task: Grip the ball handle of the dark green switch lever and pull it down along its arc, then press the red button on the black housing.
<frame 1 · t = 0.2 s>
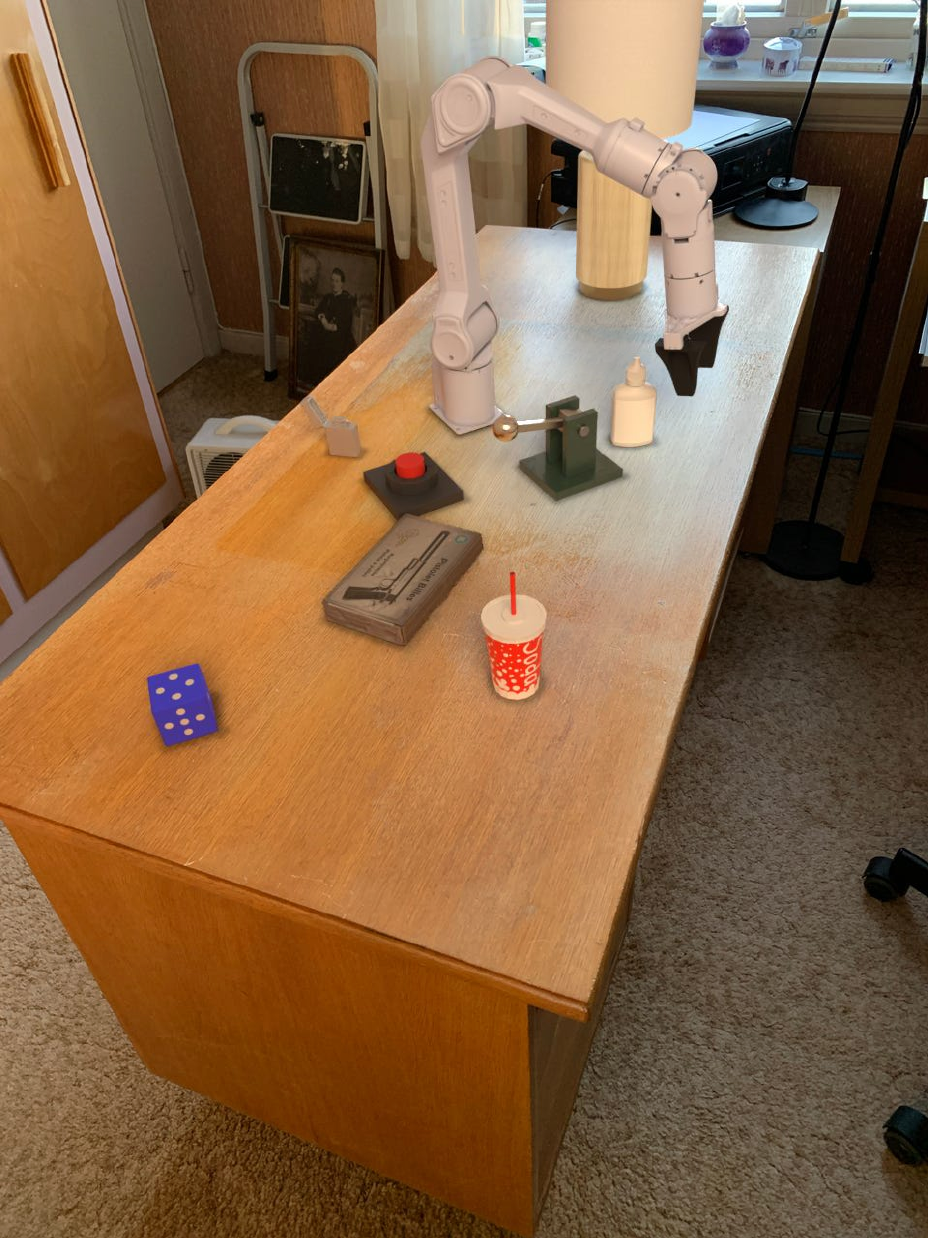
hand: (695, 380, 112), 11 cm above the table, tool pointing down, fingers open, 7 cm apart
lamp: (610, 288, 161), on the table
eye dropper bottle: (631, 442, 123), on the table
button: (410, 465, 115), point 4 cm above the table, slide at 0.1 cm
button box: (413, 490, 117), on the table
lever: (538, 424, 111), point 9 cm above the table, hinge at 12.0°
box: (407, 590, 103), on the table
die: (189, 723, 89), on the table
beverage cup: (516, 684, 91), on the table
lighter: (335, 452, 126), on the table
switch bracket: (570, 472, 118), on the table
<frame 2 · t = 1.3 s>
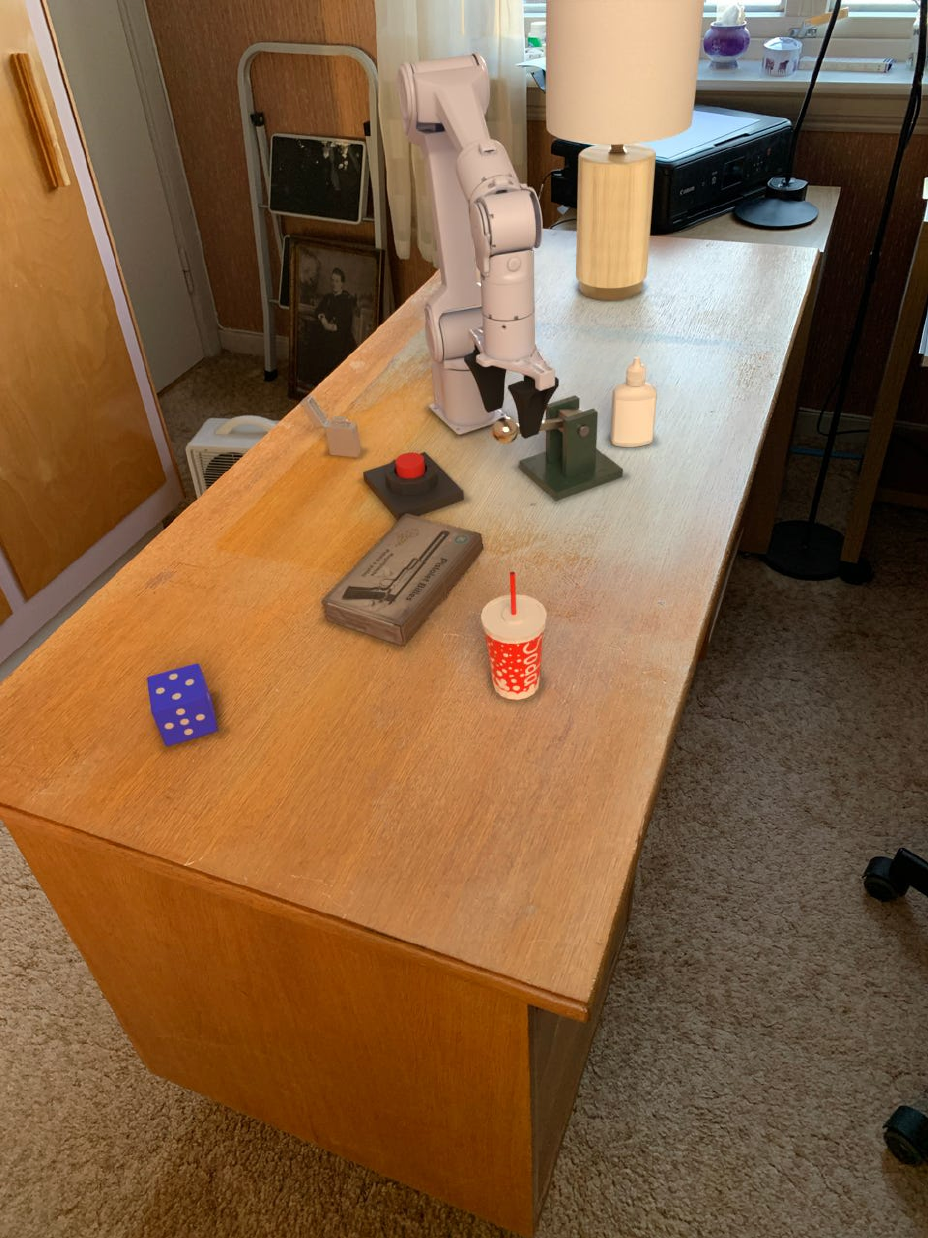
hand: (511, 421, 108), 10 cm above the table, tool pointing down, fingers open, 7 cm apart
lever: (538, 425, 111), point 8 cm above the table, hinge at 10.4°
everything else where it was.
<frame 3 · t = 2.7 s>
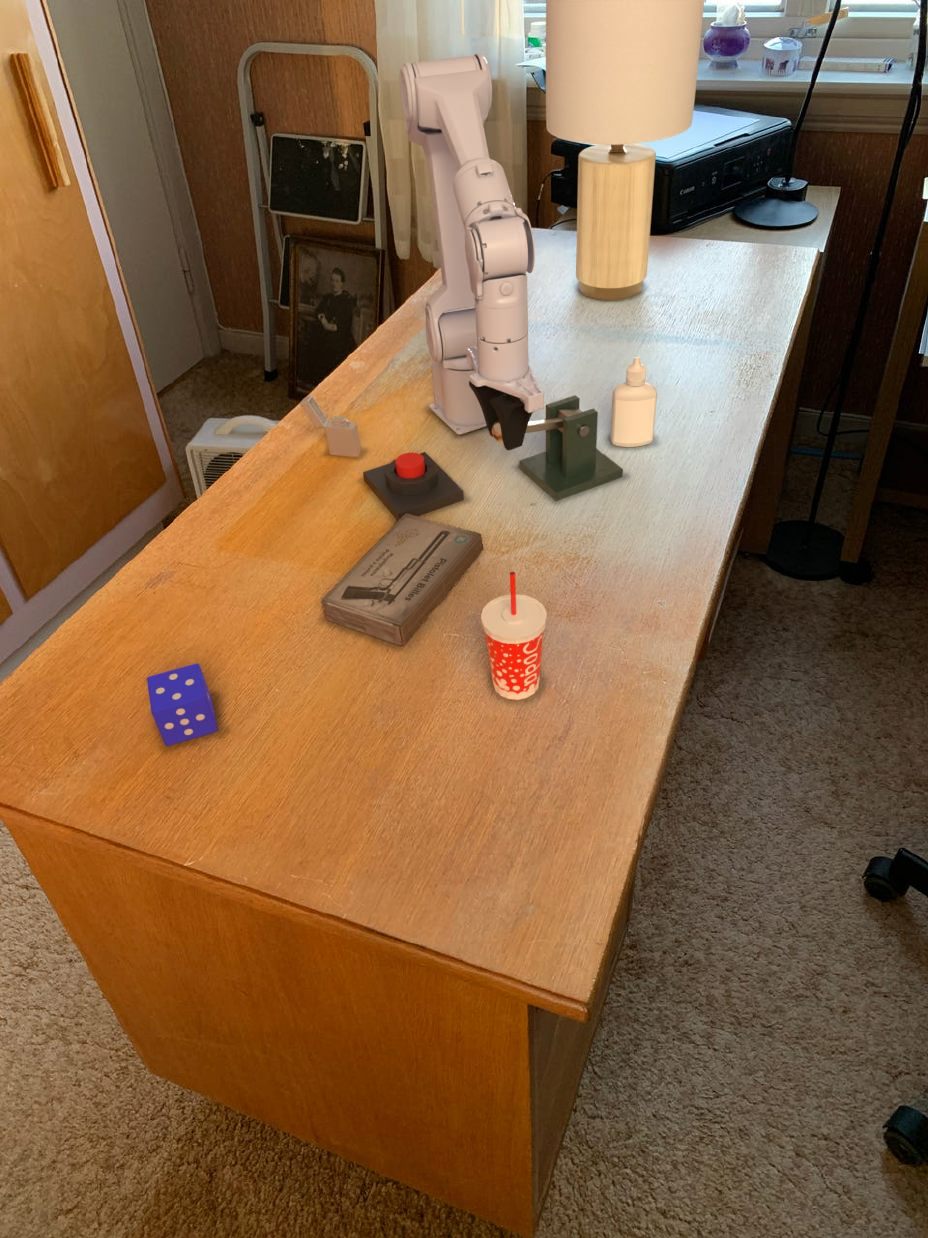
hand: (505, 439, 110), 8 cm above the table, tool pointing down, fingers closed on lever, 3 cm apart
lever: (538, 425, 111), point 8 cm above the table, hinge at 10.3°, touching gripper
everything else where it was.
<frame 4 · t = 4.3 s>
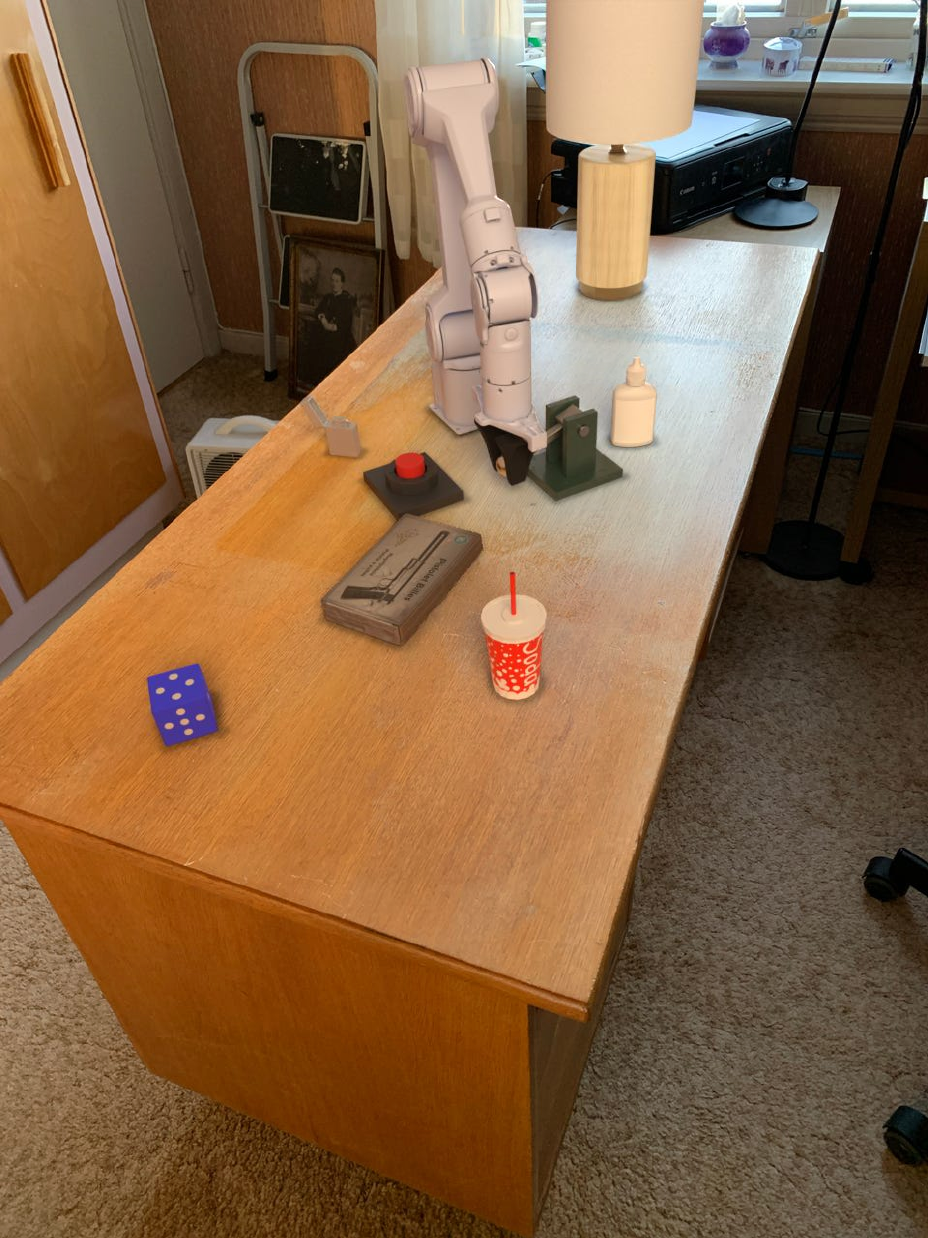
hand: (509, 475, 113), 3 cm above the table, tool pointing down, fingers closed on lever, 3 cm apart
lever: (539, 442, 113), point 6 cm above the table, hinge at -19.0°, touching gripper
everything else where it was.
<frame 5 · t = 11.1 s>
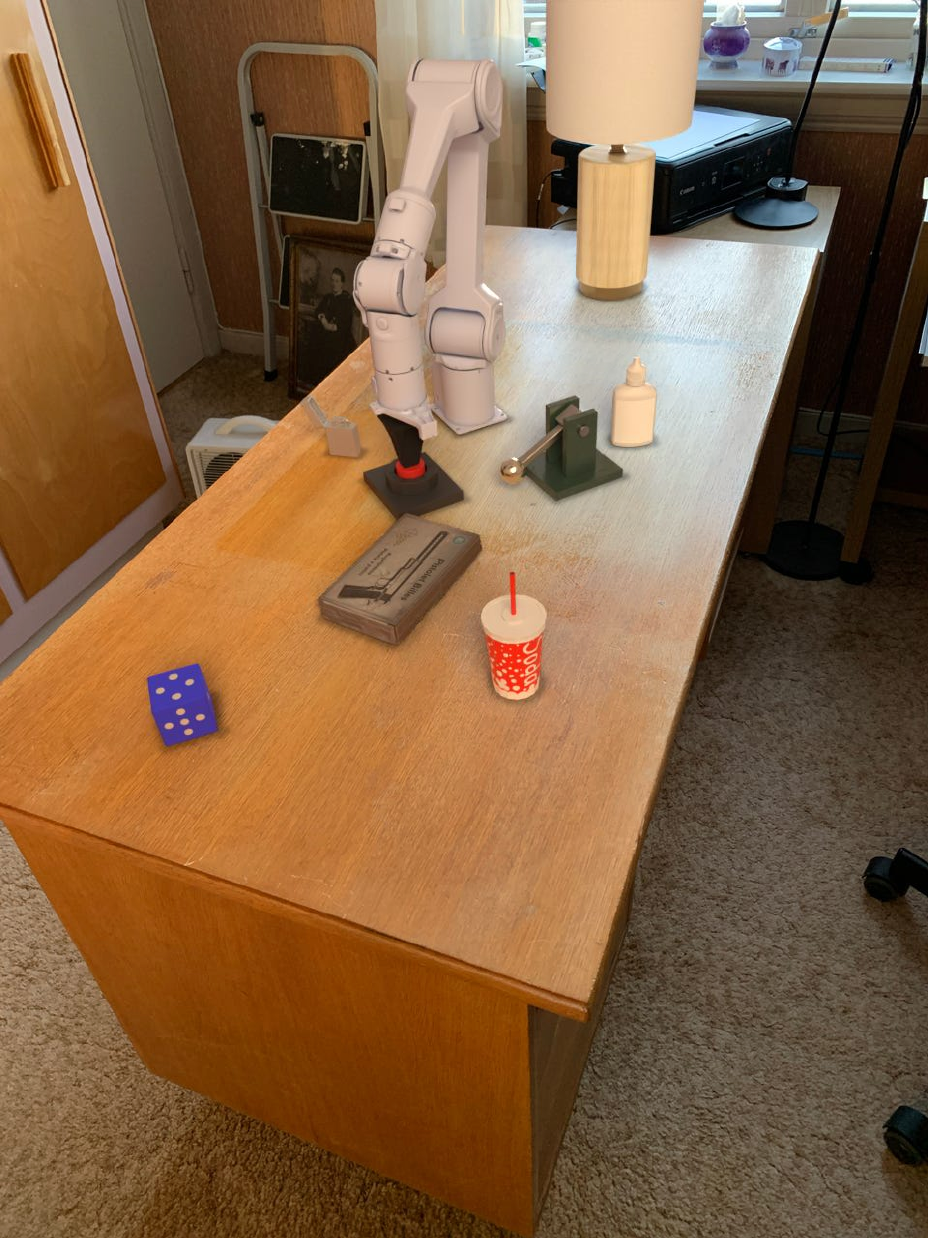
hand: (410, 464, 114), 4 cm above the table, tool pointing down, fingers closed, pressing on button
button: (410, 469, 115), point 3 cm above the table, slide at -0.5 cm, touching gripper
lever: (541, 446, 113), point 5 cm above the table, hinge at -26.6°
everything else where it was.
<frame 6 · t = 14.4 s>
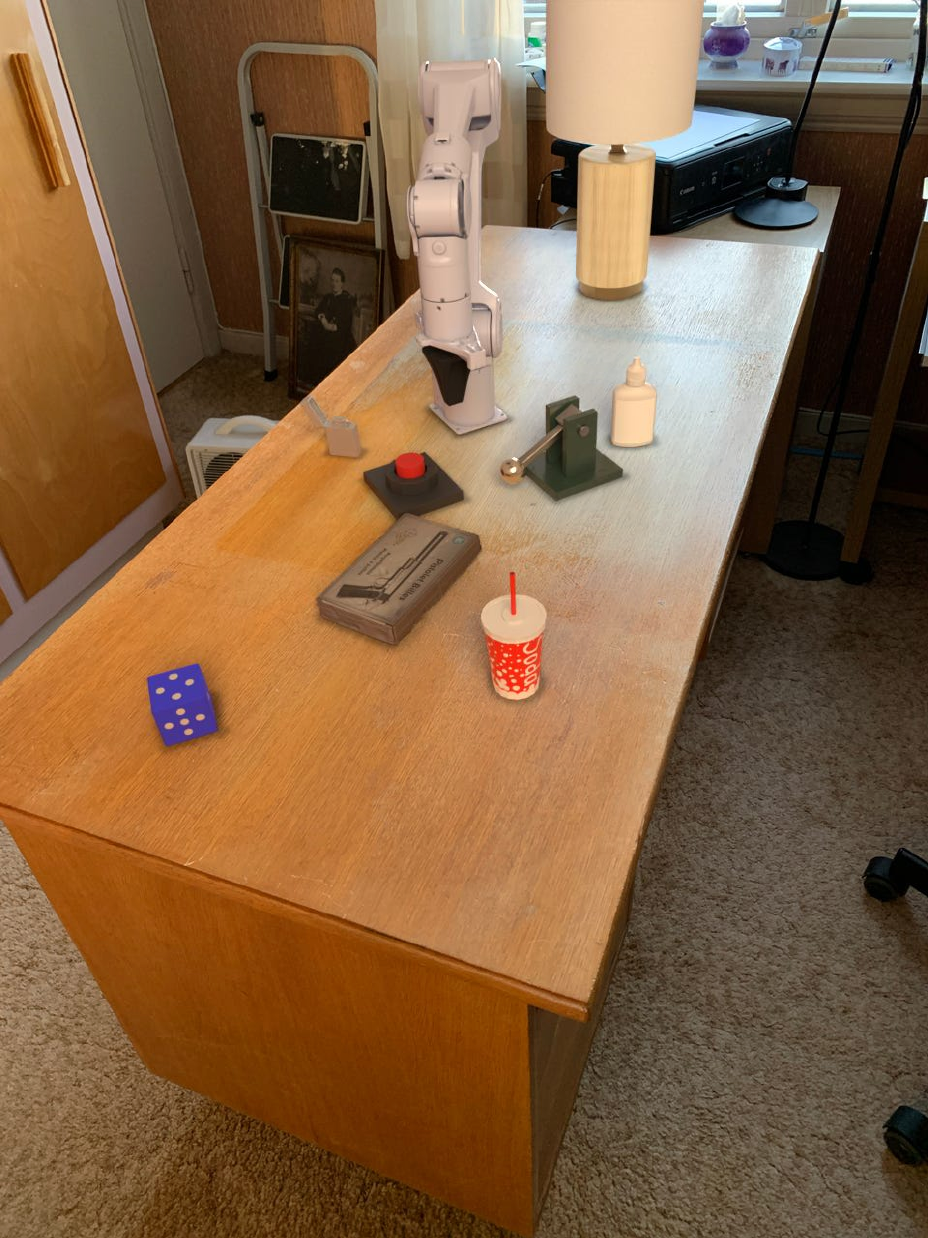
hand: (453, 402, 112), 10 cm above the table, tool pointing down, fingers closed
button: (410, 465, 115), point 4 cm above the table, slide at 0.1 cm
everything else where it was.
at the end: lever at -27° (first picture: +12°); button pushed in 1.2 cm at the most during the clip, back to where it started at the end; button slide at 0.1 cm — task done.
